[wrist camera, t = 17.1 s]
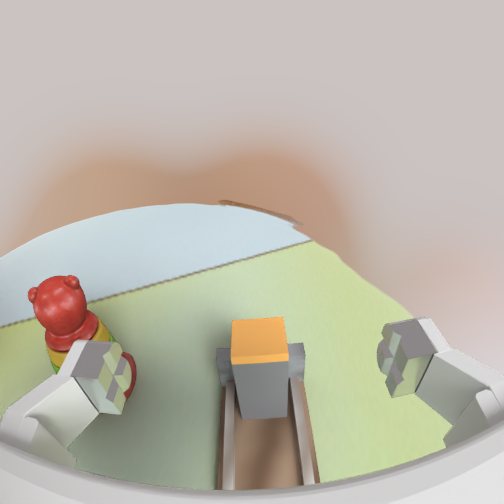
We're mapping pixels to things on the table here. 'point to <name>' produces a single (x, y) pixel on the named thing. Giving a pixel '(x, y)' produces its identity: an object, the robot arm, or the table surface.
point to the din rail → (265, 435)
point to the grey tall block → (260, 367)
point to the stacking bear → (69, 320)
